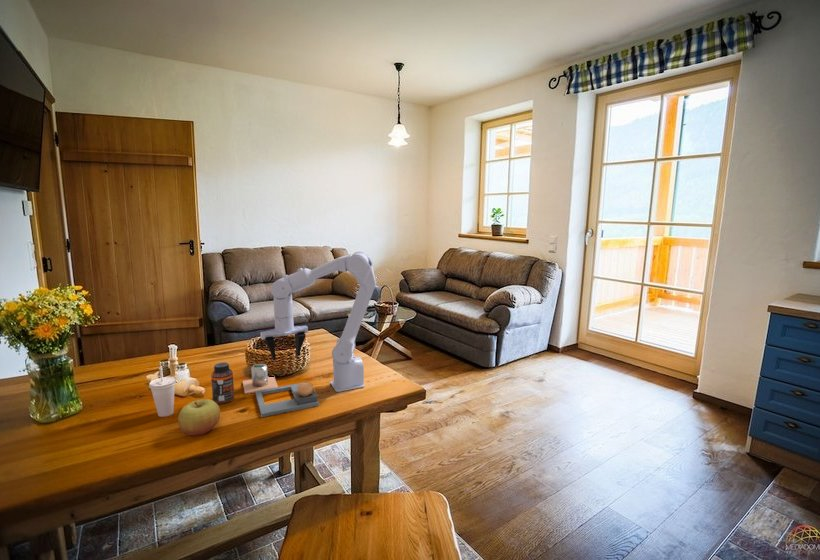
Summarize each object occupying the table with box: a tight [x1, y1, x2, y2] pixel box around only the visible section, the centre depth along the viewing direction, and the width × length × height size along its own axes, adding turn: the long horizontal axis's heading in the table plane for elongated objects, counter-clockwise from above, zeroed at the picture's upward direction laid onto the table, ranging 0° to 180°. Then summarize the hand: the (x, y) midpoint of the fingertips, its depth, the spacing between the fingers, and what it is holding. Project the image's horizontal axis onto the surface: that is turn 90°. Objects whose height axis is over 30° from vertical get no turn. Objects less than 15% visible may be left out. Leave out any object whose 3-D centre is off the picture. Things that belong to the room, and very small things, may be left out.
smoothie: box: [148, 366, 177, 418], centre depth 113 cm, size 6×6×14 cm
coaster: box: [242, 376, 279, 395], centre depth 133 cm, size 10×10×1 cm
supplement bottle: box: [210, 362, 235, 405], centre depth 122 cm, size 6×6×11 cm
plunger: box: [297, 382, 314, 397], centre depth 121 cm, size 4×4×4 cm
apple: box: [177, 398, 221, 436], centre depth 105 cm, size 10×10×8 cm
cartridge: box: [250, 363, 269, 387], centre depth 132 cm, size 5×5×7 cm
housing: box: [254, 381, 320, 418], centre depth 123 cm, size 16×16×3 cm
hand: (285, 357), depth 131 cm, fingers open, 7 cm apart
